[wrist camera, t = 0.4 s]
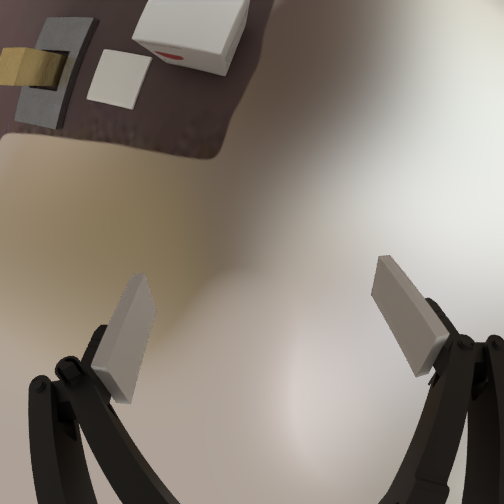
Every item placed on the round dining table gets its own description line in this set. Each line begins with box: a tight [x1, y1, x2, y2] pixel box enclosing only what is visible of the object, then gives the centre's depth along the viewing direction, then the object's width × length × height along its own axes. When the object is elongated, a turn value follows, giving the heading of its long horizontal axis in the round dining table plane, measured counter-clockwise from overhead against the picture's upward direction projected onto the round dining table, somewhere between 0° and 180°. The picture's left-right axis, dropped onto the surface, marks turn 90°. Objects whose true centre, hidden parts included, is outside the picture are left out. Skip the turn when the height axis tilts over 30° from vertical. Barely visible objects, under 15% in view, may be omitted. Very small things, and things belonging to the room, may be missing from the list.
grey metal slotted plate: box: [14, 17, 99, 129], centre depth 28 cm, size 18×10×2 cm, turn 158°
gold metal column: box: [0, 47, 68, 86], centre depth 24 cm, size 5×5×12 cm
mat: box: [87, 49, 153, 109], centre depth 31 cm, size 8×8×1 cm
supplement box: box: [132, 0, 250, 76], centre depth 24 cm, size 9×9×15 cm
